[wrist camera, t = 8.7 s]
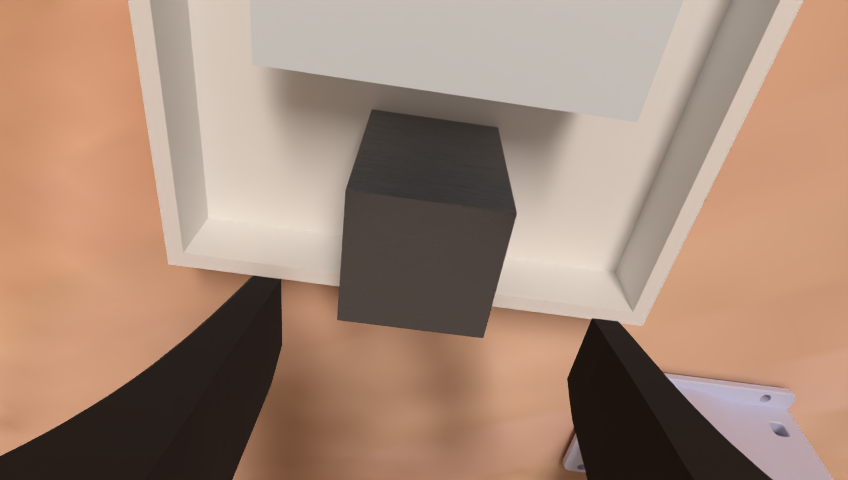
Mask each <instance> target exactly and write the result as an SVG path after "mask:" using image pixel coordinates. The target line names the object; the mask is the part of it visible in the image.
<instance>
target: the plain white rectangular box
mask: <svg viewBox="0 0 848 480" xmlns="http://www.w3.org/2000/svg"><path fill="white" fill-rule="evenodd" d="M683 1H684V0H250V12H251V40H252V65H258V66H265V67H272V68H278V69H285V70H292V71H299V72H305V73H312V74H319V75H325V76H332V77H339V78H345V79H352V80H359V81H365V82H372V83H379V84H385V85H392V86H399V87H405V88H412V89H419V90H425V91H432V92H439V93H445V94H452V95H459V96H465V97H472V98H479V99H486V100H492V101H499V102H506V103H512V104H519V105H526V106H532V107H539V108H546V109H552V110H559V111H566V112H572V113H579V114H586V115H592V116H599V117H606V118H612V119H619V120H626V121H632V122H638V119H639V117H640V114H641V111H642V109H643V106H644V103H645V101H646V98H647V95H648V93H649V90H650V88H651V85H652V82H653V80H654V77H655V74H656V72H657V69H658V66H659V64H660V61H661V59H662V56H663V53H664V51H665V48H666V45H667V43H668V40H669V37H670V35H671V32H672V30H673V27H674V24H675V22H676V19H677V16H678V14H679V11H680V8H681V6H682V3H683Z"/></svg>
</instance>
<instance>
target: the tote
mask: <svg viewBox="0 0 848 480" xmlns="http://www.w3.org/2000/svg"><path fill="white" fill-rule="evenodd" d="M802 2H803V0H684V1H683V3H682V6H681V8H680V11H679V14H678V16H677V19H676V22H675V24H674V27H673V30H672V32H671V35H670V37H669V40H668V43H667V45H666V48H665V51H664V53H663V56H662V59H661V61H660V64H659V66H658V69H657V72H656V74H655V77H654V80H653V82H652V85H651V88H650V90H649V93H648V95H647V98H646V101H645V103H644V106H643V109H642V111H641V114H640V117H639V119H638V122H632V121H626V120H619V119H612V118H606V117H599V116H592V115H586V114H579V113H572V112H566V111H559V110H552V109H546V108H539V107H532V106H526V105H519V104H512V103H506V102H499V101H492V100H486V99H479V98H472V97H465V96H459V95H452V94H445V93H439V92H432V91H425V90H419V89H412V88H405V87H399V86H392V85H385V84H379V83H372V82H365V81H359V80H352V79H345V78H339V77H332V76H325V75H319V74H312V73H305V72H299V71H292V70H285V69H278V68H272V67H265V66H258V65H252V40H251V12H250V0H128V3H129V10H130V16H131V23H132V29H133V36H134V42H135V49H136V56H137V62H138V69H139V75H140V82H141V88H142V95H143V101H144V108H145V114H146V121H147V127H148V134H149V141H150V147H151V154H152V160H153V167H154V173H155V180H156V186H157V193H158V199H159V206H160V213H161V219H162V226H163V232H164V239H165V245H166V252H167V258H168V264H170V265H178V266H186V267H193V268H201V269H209V270H216V271H224V272H232V273H239V274H247V275H255V276H262V277H270V278H278V279H286V280H293V281H301V282H309V283H316V284H324V285H332V286H339V284H340V268H341V253H342V237H343V221H344V205H345V190H346V187H347V184H348V181H349V178H350V175H351V172H352V169H353V166H354V162H355V159H356V156H357V153H358V150H359V147H360V144H361V141H362V138H363V135H364V132H365V129H366V126H367V123H368V119H369V116H370V113H371V110H372V109H373V110H380V111H387V112H394V113H401V114H408V115H415V116H422V117H429V118H436V119H443V120H450V121H457V122H464V123H471V124H478V125H485V126H492V127H498V130H499V134H500V139H501V144H502V148H503V153H504V157H505V162H506V166H507V171H508V175H509V180H510V184H511V189H512V193H513V198H514V202H515V207H516V211H517V215H516V219H515V223H514V226H513V230H512V234H511V237H510V241H509V245H508V249H507V252H506V256H505V260H504V263H503V267H502V271H501V274H500V278H499V282H498V285H497V289H496V293H495V296H494V300H493V304H492V306H493V307H501V308H509V309H516V310H524V311H532V312H540V313H547V314H555V315H563V316H570V317H578V318H586V319H592V318H596V319H604V320H612V321H618V322H619V323H624V324H632V325H640V326H643V324H644V322H645V320H646V318H647V316H648V314H649V312H650V310H651V308H652V306H653V304H654V302H655V300H656V298H657V296H658V294H659V292H660V290H661V288H662V286H663V284H664V282H665V280H666V278H667V276H668V273H669V271H670V269H671V267H672V265H673V263H674V261H675V259H676V257H677V255H678V253H679V251H680V249H681V247H682V245H683V243H684V241H685V239H686V237H687V235H688V233H689V231H690V229H691V227H692V225H693V223H694V221H695V219H696V217H697V215H698V213H699V211H700V209H701V207H702V205H703V203H704V201H705V199H706V197H707V195H708V193H709V191H710V189H711V186H712V184H713V182H714V180H715V178H716V176H717V174H718V172H719V170H720V168H721V166H722V164H723V162H724V160H725V158H726V156H727V154H728V152H729V150H730V148H731V146H732V144H733V142H734V140H735V138H736V136H737V134H738V132H739V130H740V128H741V126H742V124H743V122H744V120H745V118H746V116H747V114H748V112H749V110H750V108H751V106H752V104H753V101H754V99H755V97H756V95H757V93H758V91H759V89H760V87H761V85H762V83H763V81H764V79H765V77H766V75H767V73H768V71H769V69H770V67H771V65H772V63H773V61H774V59H775V57H776V55H777V53H778V51H779V49H780V47H781V45H782V43H783V41H784V39H785V37H786V35H787V33H788V31H789V29H790V27H791V25H792V23H793V21H794V19H795V17H796V14H797V12H798V10H799V8H800V6H801V4H802Z"/></svg>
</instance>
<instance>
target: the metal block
mask: <svg viewBox="0 0 848 480" xmlns="http://www.w3.org/2000/svg"><path fill="white" fill-rule="evenodd" d="M516 215H517V211H516V207H515V202H514V198H513V193H512V189H511V184H510V180H509V175H508V171H507V166H506V162H505V157H504V153H503V148H502V144H501V139H500V134H499V130H498V127H492V126H485V125H478V124H471V123H464V122H457V121H450V120H443V119H436V118H429V117H422V116H415V115H408V114H401V113H394V112H387V111H380V110H373V109H372V110H371V113H370V116H369V119H368V123H367V126H366V129H365V132H364V135H363V138H362V141H361V144H360V147H359V150H358V153H357V156H356V159H355V162H354V166H353V169H352V172H351V175H350V178H349V181H348V184H347V187H346V190H345V205H344V221H343V237H342V253H341V268H340V284H339V300H338V316H337V320H342V321H350V322H358V323H366V324H374V325H382V326H390V327H398V328H406V329H414V330H422V331H430V332H438V333H447V334H455V335H463V336H471V337H479V338H483V337H484V333H485V330H486V326H487V322H488V318H489V315H490V311H491V307H492V304H493V300H494V296H495V293H496V289H497V285H498V282H499V278H500V274H501V271H502V267H503V263H504V260H505V256H506V252H507V249H508V245H509V241H510V237H511V234H512V230H513V226H514V223H515V219H516Z"/></svg>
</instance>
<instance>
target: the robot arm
mask: <svg viewBox="0 0 848 480" xmlns="http://www.w3.org/2000/svg"><path fill="white" fill-rule="evenodd" d="M281 347H282V309H281V279H277V278H269V277H261V276H253V277H251V278H250V279H249V280H248V281H247V282H246V283H245V284H244V285H243V286H242V287H241V288H240V289H239V290H238V291H237V292H236V293H235V294H233V295H232V296H231V297H230V298H229V299H228V300H227V301H226V302H225V303H224V304H223V305H222V306H221V307H220V308H219V309H218V310H217V311H216V312H215V313H213V314H212V315H211V316H210V317H209V318H208V319H207V320H206V321H205V322H203V323H202V324H201V325H200V326H199V327H198V328H197V329H196V330H194V331H193V332H192V333H191V334H190V335H189V336H188V337H186V338H185V339H184V340H183V341H182V342H180V343H179V344H178V345H177V346H175V347H174V348H173V349H172V350H170V351H169V352H168V353H167V354H165V355H164V356H163V357H162V358H160V359H159V360H158V361H157V362H155V363H154V364H153V365H151V366H150V367H149V368H147V369H146V370H145V371H143V372H142V373H141V374H139V375H138V376H136V377H135V378H134V379H132V380H131V381H129V382H128V383H126V384H125V385H123V386H122V387H120V388H119V389H118V390H116V391H115V392H113V393H112V394H110V395H109V396H107V397H105V398H104V399H102V400H101V401H99V402H97V403H96V404H94V405H93V406H91V407H89V408H88V409H86V410H84V411H83V412H81V413H79V414H78V415H76V416H74V417H73V418H71V419H69V420H68V421H66V422H64V423H62V424H61V425H59V426H57V427H55V428H54V429H52V430H50V431H48V432H46V433H44V434H43V435H41V436H39V437H37V438H35V439H33V440H31V441H29V442H28V443H26V444H24V445H22V446H20V447H18V448H16V449H14V450H12V451H10V452H8V453H6V454H4V455H2V456H0V480H232V479H233V477H234V474H235V471H236V469H237V467H238V464H239V462H240V459H241V457H242V454H243V452H244V450H245V447H246V445H247V442H248V440H249V437H250V435H251V433H252V430H253V428H254V425H255V423H256V421H257V418H258V416H259V413H260V411H261V408H262V406H263V403H264V401H265V398H266V396H267V393H268V391H269V388H270V386H271V383H272V379H273V376H274V372H275V369H276V365H277V362H278V358H279V354H280V350H281ZM567 380H568V389H569V398H570V406H571V414H572V420H573V424H574V429H575V435H574V438H573V440H572V442H571V444H570V446H569V448H568V450H567V452H566V455H565V457H564V459H563V465H564V468H565V469H566V470H568V471H574V472H583V473H586V475H587V479H588V480H834V479H833V478H832V476H831V475H830V473H829V472H828V470H827V469H826V467H825V466H824V464H823V463H822V461H821V459H820V458H819V456H818V455H817V453H816V452H815V450H814V449H813V447H812V446H811V444H810V443H809V441H808V440H807V438H806V437H805V435H804V434H803V432H802V431H801V429H800V427H799V426H798V424H797V423H796V421H795V420H794V418H793V417H792V415H791V414H790V412H789V411H788V409H789V408H790V406H791V405H792V404H793V403H794V401H795V399H796V398H795V395H794V394H793V392H792V391H791V390H790V389H786V388H779V387H771V386H763V385H755V384H747V383H739V382H731V381H723V380H715V379H707V378H699V377H691V376H683V375H675V374H667V373H663V372H662V371H661V370H660V369H659V367H658V366H657V365H656V364H655V363H654V362H653V361H652V359H651V358H650V357H649V356H648V355H647V354H646V352H645V351H644V350H643V349H642V348H641V347H640V346H639V344H638V343H637V342H636V341H635V340H634V339H633V337H632V336H631V335H630V334H629V333H628V332H627V331H626V329H625V328H624V327H623V326H622V325H621V324H620V323H619V322H618V321H612V320H604V319H596V318H592V320H591V322H590V325H589V327H588V330H587V332H586V335H585V337H584V339H583V342H582V344H581V347H580V349H579V352H578V354H577V356H576V359H575V361H574V364H573V366H572V369H571V371H570V373H569V376H568V378H567Z"/></svg>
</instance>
